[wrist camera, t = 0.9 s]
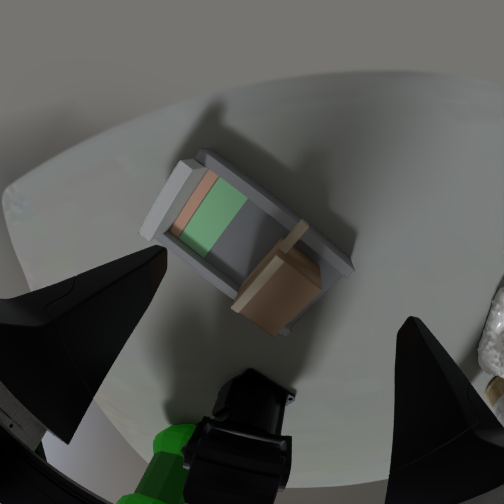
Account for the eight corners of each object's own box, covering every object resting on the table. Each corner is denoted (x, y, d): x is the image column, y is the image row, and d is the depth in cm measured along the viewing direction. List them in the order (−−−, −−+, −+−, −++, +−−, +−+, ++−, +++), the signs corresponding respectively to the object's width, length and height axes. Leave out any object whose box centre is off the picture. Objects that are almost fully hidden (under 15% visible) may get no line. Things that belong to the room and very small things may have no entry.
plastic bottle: (153, 424, 36) (86, 544, 13) (184, 404, 32) (104, 561, 9) (204, 455, 37) (155, 574, 14) (243, 440, 33) (194, 591, 10)
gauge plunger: (340, 243, 20) (347, 265, 16) (279, 307, 22) (273, 338, 19) (302, 211, 20) (301, 226, 16) (244, 280, 22) (230, 307, 18)
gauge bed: (350, 259, 22) (359, 283, 17) (287, 322, 25) (282, 354, 21) (210, 148, 21) (187, 148, 17) (161, 226, 24) (133, 241, 20)
